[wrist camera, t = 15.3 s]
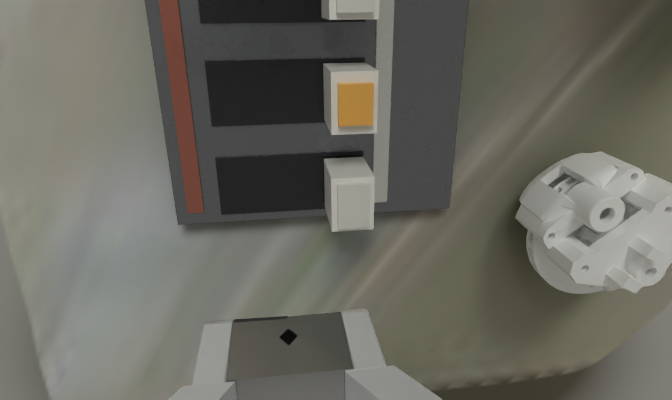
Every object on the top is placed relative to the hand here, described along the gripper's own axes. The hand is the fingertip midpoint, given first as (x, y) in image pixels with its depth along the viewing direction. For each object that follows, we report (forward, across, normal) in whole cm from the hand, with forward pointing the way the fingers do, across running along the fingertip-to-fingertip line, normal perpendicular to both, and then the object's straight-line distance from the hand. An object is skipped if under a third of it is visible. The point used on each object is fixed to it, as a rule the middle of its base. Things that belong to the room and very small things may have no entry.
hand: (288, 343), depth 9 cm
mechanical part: (+29, -25, +11) cm, 40 cm away
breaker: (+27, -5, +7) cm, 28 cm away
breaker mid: (+27, -5, 0) cm, 28 cm away
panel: (+29, -3, 0) cm, 29 cm away
